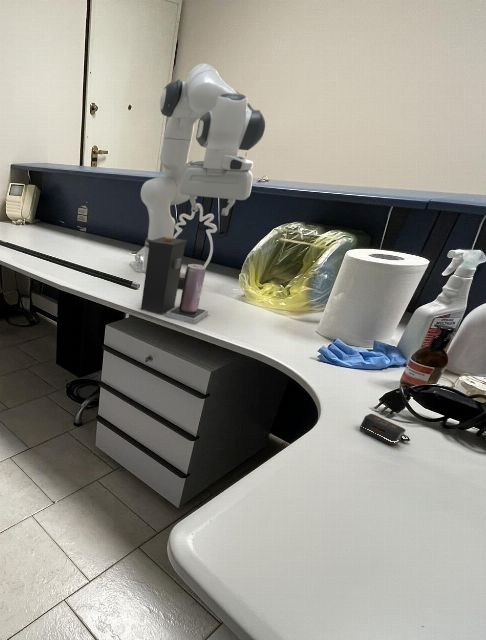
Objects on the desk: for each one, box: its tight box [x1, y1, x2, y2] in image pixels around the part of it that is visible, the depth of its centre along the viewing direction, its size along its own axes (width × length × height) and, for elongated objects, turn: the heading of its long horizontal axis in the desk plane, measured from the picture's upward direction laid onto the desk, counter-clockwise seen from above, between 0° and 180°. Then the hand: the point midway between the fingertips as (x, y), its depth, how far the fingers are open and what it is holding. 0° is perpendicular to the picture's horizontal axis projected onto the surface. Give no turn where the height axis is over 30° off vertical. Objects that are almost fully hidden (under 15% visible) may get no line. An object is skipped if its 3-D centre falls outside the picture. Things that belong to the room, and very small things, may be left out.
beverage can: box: [179, 263, 207, 313], centre depth 134 cm, size 6×6×15 cm
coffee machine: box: [140, 237, 209, 324], centre depth 135 cm, size 20×11×24 cm, turn 49°
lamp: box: [173, 202, 218, 290], centre depth 160 cm, size 17×9×32 cm, turn 73°
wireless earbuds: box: [359, 413, 411, 446], centre depth 80 cm, size 5×7×3 cm, turn 27°
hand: (209, 213), depth 124 cm, fingers open, 8 cm apart
